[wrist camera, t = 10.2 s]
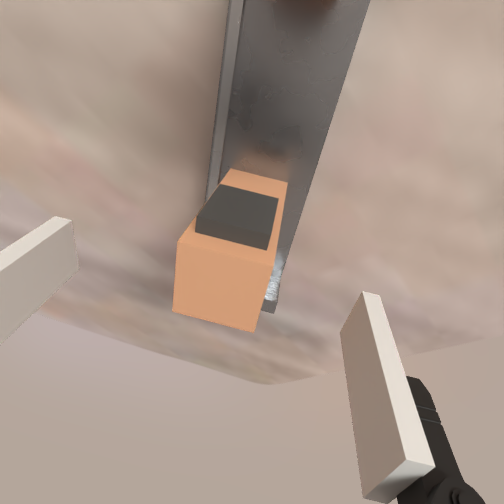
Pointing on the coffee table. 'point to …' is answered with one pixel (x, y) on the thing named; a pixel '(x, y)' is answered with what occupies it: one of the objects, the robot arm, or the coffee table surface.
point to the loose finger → (230, 251)
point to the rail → (281, 98)
